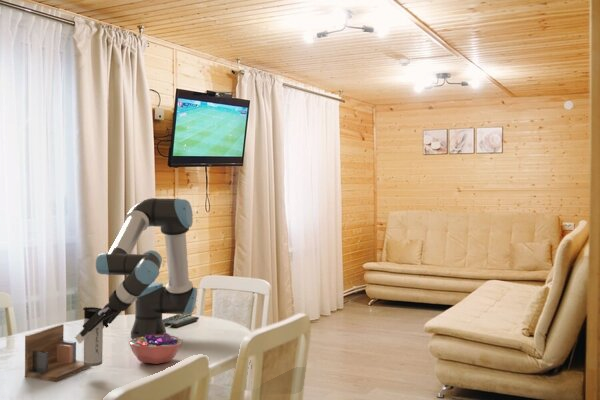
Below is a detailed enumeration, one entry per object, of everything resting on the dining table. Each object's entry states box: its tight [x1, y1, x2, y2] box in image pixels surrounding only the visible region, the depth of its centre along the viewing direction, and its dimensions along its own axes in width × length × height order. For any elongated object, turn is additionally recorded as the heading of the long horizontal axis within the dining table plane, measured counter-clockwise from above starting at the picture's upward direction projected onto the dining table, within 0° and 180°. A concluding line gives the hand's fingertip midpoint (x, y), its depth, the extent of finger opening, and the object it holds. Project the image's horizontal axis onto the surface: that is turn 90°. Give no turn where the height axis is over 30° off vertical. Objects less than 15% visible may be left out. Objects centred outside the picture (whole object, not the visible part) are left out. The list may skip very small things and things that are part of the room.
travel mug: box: [82, 306, 104, 367], centre depth 217 cm, size 6×7×20 cm
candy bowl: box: [128, 332, 183, 365], centre depth 236 cm, size 17×20×11 cm
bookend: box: [28, 350, 48, 375], centre depth 216 cm, size 6×3×7 cm, turn 71°
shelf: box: [24, 323, 91, 383], centre depth 222 cm, size 14×18×14 cm
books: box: [57, 339, 77, 363], centre depth 230 cm, size 6×4×7 cm, turn 71°
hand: (84, 337), depth 218 cm, fingers closed on travel mug, 6 cm apart
